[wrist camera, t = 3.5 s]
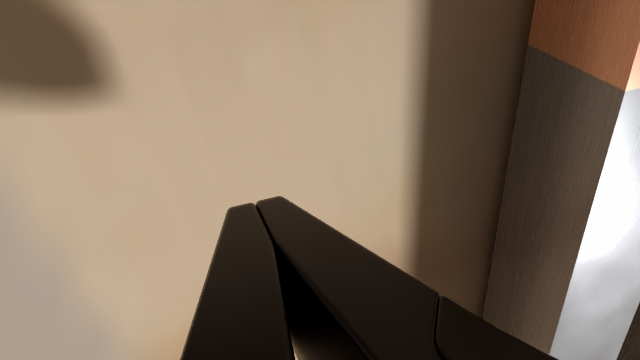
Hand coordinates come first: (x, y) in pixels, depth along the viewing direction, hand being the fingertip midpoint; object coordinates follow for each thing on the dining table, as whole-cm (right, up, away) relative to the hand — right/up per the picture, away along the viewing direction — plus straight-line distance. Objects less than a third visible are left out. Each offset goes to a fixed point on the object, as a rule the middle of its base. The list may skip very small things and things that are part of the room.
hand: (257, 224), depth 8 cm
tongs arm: (+7, -1, +6) cm, 9 cm away
